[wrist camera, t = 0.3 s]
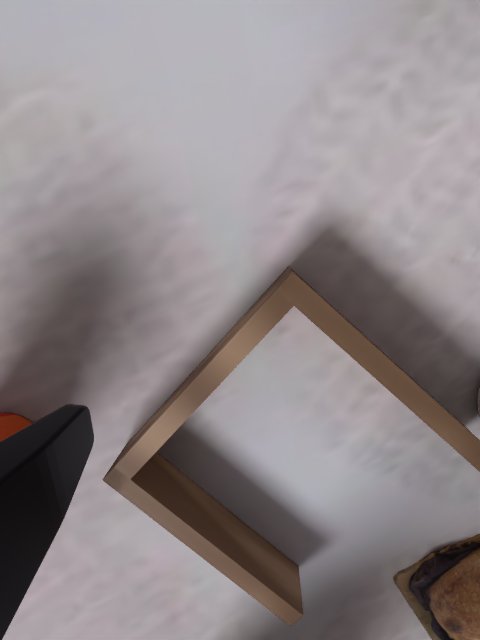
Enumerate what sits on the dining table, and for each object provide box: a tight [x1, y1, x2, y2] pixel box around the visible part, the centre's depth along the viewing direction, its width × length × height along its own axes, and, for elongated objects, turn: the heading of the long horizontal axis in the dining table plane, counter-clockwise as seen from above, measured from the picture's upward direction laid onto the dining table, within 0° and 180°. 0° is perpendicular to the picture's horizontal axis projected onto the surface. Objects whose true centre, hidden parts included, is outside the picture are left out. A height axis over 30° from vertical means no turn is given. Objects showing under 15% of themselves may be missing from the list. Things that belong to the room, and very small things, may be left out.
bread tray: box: [103, 267, 480, 626], centre depth 22 cm, size 16×15×4 cm
